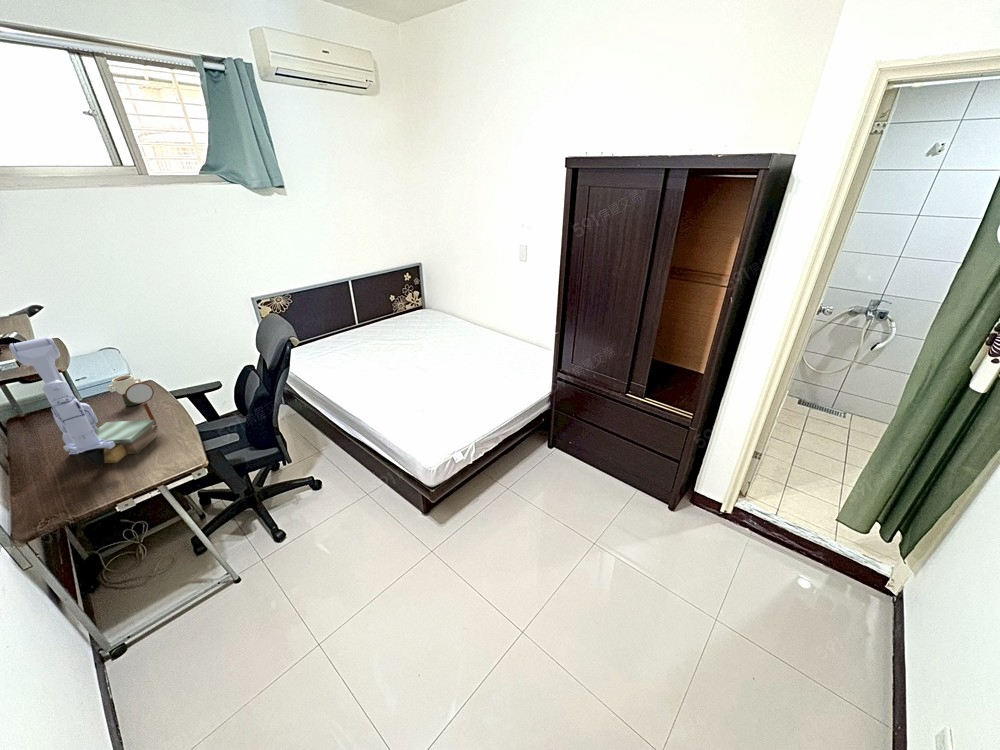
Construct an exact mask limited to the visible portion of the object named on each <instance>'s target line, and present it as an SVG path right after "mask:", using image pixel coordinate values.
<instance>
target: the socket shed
mask: <svg viewBox="0 0 1000 750" xmlns="http://www.w3.org/2000/svg"><path fill="white" fill-rule="evenodd" d="M155 421H156V420H155ZM155 421H154V420H150V419H145V420H141V419H140V420H126V421H125V420H124V421H123V420H121V421H119V420H118V421H106V422H105V423H103V424H102V425H101V426H99V427H97V428H98V429H96V430H95V431H94V432H95V433H96V435H97V437H98V438H99V439H102V440H107V441H113V442H114V443H123V444H124V446H125V448H126V450H127V452H128V454H127V455H138V454H139V453H140V452H141V451H142V450H143V449H144V448H146V447H147V446H148V445H149V444H150V443H152V441H154V440H155V439H156V438H157V435H156V433H155V430H154V428H153V426H154V424H155Z"/></svg>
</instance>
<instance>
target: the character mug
mask: <svg viewBox="0 0 1000 750" xmlns="http://www.w3.org/2000/svg"><path fill="white" fill-rule="evenodd" d="M136 381H137V382H136ZM111 383H112V384H110V385H107V387H108V389H109V392H110V393H114V392H116V393H118V394H119V395H121V397H122V400H123V403H124V405H125V406H127V407H129V406H136V405H137V404H135V403H131V402H129V401H128V400H127V399H126V397H125V392H126V390H127V388H128V387H129V386H131V385H133V384H135V383H143V382H142V380H141V378H138V377H137V378H134V376H133V375H132V374H123V375H120V376H117V377H114V378H113V379H112V380H111ZM113 387H114V389H113Z"/></svg>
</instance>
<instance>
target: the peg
mask: <svg viewBox="0 0 1000 750" xmlns="http://www.w3.org/2000/svg"><path fill="white" fill-rule="evenodd" d="M127 455H129V454H128V452H127V450H126V448H125V446H124V444H123V443H115V446H114V447H113V448H111V449H108V448H105V450H104V460H105V463H104V464H112V463H113V464H114V463H118V462H120V461H121V460H122V459H123V458H124V457H125V456H127Z"/></svg>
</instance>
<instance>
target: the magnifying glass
mask: <svg viewBox="0 0 1000 750" xmlns="http://www.w3.org/2000/svg"><path fill="white" fill-rule="evenodd" d="M154 393H155V391H154V388H153V386H151V385H150V384H149V383H147V382H142V383H139V382H136V383H135V384H133V385H131V386H129V387H128V388H127V390H126V392H125V397H126V399H127V400H128V401H129V402H131V403H135V404H136V405H139V404H140V405H141V404H142V405H143V408H144V409H145V411H146V414H147V415H148V417H149V420H154V421H155V424H154V425H153V426H154V427H157V421H156V420H155V417H154V416H153V413H152V412H151V409H150V407H149V405H148V403H147V402H148V401H150V400H152V398H153V396H154Z"/></svg>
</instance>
